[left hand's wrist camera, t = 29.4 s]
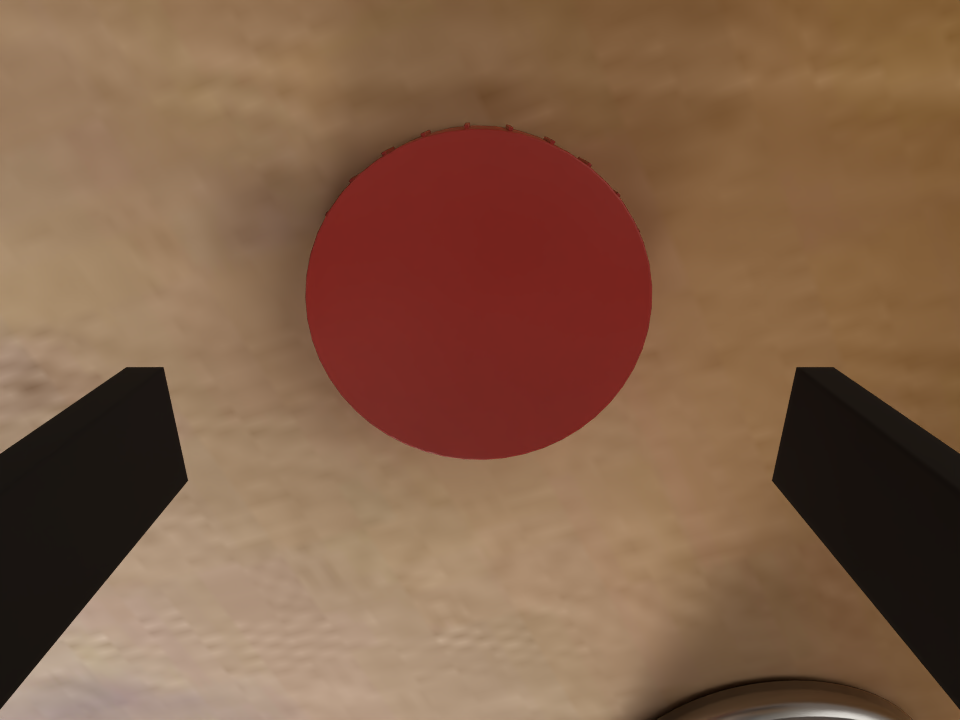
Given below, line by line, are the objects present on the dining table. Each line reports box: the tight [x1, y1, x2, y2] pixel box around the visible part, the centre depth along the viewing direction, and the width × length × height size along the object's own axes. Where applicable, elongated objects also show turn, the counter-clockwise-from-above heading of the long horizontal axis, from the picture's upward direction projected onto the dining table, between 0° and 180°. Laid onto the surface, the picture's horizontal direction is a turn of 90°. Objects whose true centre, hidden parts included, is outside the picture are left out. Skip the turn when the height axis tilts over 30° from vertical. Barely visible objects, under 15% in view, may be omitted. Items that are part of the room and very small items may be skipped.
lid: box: [305, 123, 652, 460], centre depth 17 cm, size 10×10×2 cm
